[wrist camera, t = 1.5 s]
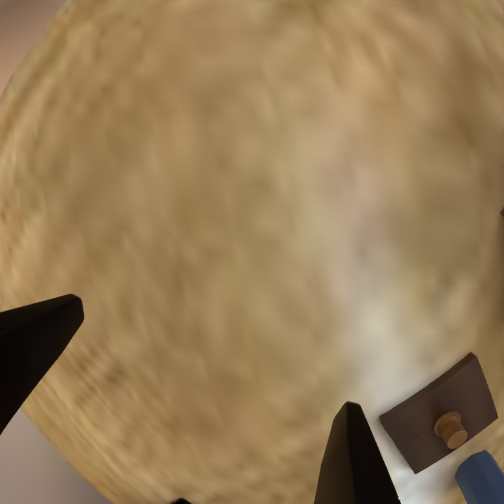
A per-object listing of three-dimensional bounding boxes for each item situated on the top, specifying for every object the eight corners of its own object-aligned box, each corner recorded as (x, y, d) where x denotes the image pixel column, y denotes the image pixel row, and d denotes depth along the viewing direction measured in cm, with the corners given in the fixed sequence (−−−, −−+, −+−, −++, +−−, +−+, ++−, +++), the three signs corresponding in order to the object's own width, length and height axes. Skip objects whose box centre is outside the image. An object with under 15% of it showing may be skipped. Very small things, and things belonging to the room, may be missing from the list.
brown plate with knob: (412, 467, 22) (421, 493, 18) (378, 416, 23) (387, 443, 19) (493, 412, 20) (511, 432, 16) (471, 351, 21) (492, 369, 17)
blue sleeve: (466, 484, 21) (498, 556, 8) (449, 474, 21) (483, 554, 9) (495, 458, 20) (537, 525, 7) (481, 446, 21) (527, 520, 8)
